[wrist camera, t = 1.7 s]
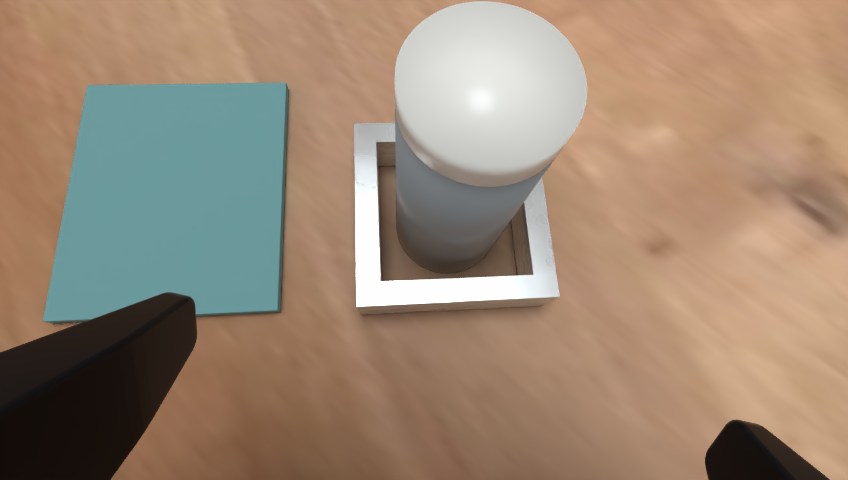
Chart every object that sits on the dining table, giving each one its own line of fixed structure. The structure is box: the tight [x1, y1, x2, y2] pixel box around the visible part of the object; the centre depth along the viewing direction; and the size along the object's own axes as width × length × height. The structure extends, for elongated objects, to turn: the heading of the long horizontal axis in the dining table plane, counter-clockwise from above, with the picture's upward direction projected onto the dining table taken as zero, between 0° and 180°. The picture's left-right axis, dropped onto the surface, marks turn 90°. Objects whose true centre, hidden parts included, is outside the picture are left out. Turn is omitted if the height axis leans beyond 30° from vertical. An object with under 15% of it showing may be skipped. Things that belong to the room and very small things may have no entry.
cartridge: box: [395, 1, 587, 273], centre depth 17 cm, size 5×5×12 cm
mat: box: [43, 83, 289, 323], centre depth 22 cm, size 12×10×1 cm
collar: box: [354, 123, 560, 315], centre depth 21 cm, size 9×9×2 cm
